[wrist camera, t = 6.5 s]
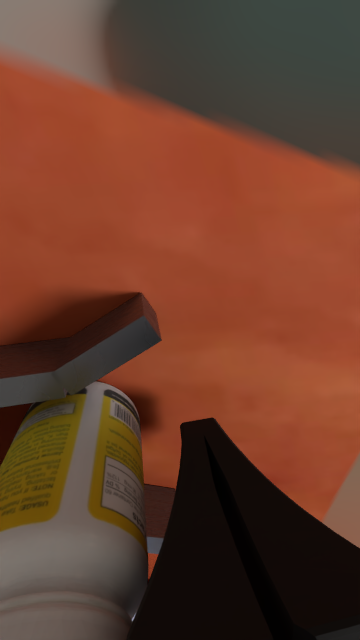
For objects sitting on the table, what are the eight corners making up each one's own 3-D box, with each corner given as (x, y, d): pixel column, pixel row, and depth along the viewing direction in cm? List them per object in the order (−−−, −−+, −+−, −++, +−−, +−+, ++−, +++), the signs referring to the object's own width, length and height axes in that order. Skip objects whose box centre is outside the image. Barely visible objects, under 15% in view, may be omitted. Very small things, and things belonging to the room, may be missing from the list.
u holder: (176, 501, 15) (184, 553, 13) (-5, 536, 14) (-32, 600, 12) (153, 291, 11) (158, 313, 9) (-110, 320, 10) (-182, 354, 8)
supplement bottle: (16, 455, 13) (-157, 839, 5) (39, 364, 11) (-153, 700, 4) (123, 470, 14) (115, 794, 6) (154, 390, 13) (194, 679, 5)
